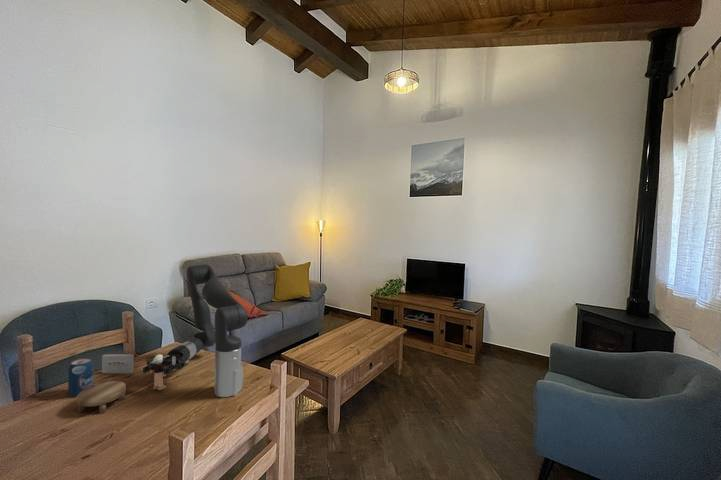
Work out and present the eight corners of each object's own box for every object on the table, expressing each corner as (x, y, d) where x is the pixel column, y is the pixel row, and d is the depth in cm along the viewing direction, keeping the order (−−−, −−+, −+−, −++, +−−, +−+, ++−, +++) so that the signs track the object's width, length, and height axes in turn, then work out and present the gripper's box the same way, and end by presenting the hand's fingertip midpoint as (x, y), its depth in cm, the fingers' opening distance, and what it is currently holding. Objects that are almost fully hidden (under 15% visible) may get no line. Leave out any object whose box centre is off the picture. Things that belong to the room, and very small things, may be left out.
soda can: (84, 397, 110) (84, 365, 110) (62, 398, 109) (62, 365, 109) (98, 387, 117) (98, 356, 117) (77, 388, 116) (78, 357, 116)
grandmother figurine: (171, 385, 118) (171, 353, 118) (163, 390, 114) (164, 357, 114) (152, 383, 119) (152, 352, 118) (144, 389, 115) (145, 356, 114)
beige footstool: (134, 395, 113) (134, 382, 112) (103, 417, 100) (103, 402, 99) (101, 393, 113) (101, 380, 113) (65, 414, 100) (65, 399, 100)
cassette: (100, 373, 128) (101, 355, 127) (104, 371, 129) (104, 354, 129) (131, 373, 129) (131, 355, 129) (134, 371, 131) (134, 354, 130)
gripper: (166, 343, 131) (136, 360, 114) (198, 345, 130) (172, 362, 114) (166, 361, 131) (136, 379, 115) (198, 362, 130) (172, 382, 114)
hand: (154, 371), depth 114 cm, fingers closed on grandmother figurine, 7 cm apart
